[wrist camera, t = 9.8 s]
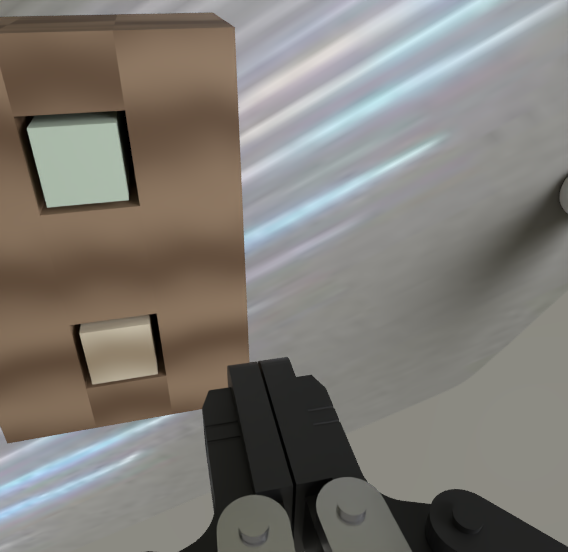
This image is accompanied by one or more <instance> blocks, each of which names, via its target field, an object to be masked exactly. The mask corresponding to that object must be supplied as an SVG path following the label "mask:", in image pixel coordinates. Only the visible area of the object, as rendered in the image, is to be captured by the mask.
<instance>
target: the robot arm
mask: <svg viewBox="0 0 568 552" xmlns="http://www.w3.org/2000/svg"><path fill="white" fill-rule="evenodd" d="M227 379H228V388H221V389H214V390H209V391H208V394H207V396H206V399H205V402H204V404H203V407H202V412H203V423H204V435H205V446H206V455H207V463H208V470H209V478H210V485H211V493H212V500H213V508H214V517H213V520H212V522H211V524H210V526H209V527H208V529H207V530H206V532H205V533H204V534H203V535H202V536H201V537H200V538H199V539H198V540H197V541H196V542H194V543H193V544H191V545H190V546H188V547H186V548H185V549H183V550H181V551H179V552H568V547H567V546H565V545H564V544H562V543H560V542H558V541H557V540H555V539H553V538H552V537H550V536H548V535H546V534H544V533H543V532H541V531H539V530H538V529H536V528H534V527H533V526H531V525H529V524H527V523H526V522H524V521H522V520H520V519H519V518H517V517H515V516H513V515H512V514H510V513H508V512H506V511H505V510H503V509H501V508H500V507H498V506H496V505H494V504H493V503H491V502H489V501H487V500H486V499H484V498H482V497H481V496H479V495H477V494H475V493H472V492H469V491H465V490H460V489H452V490H447V491H444V492H442V493H440V494H439V495H437V496H436V497H435V498H434V500H433V501H432V504H425V503H417V502H407V501H400V500H396V499H392V498H389V497H387V496H385V495H383V494H381V493H380V492H379V491H378V490H377V489H376V488H375V487H374V486H372V485H371V484H369V483H368V482H367V480H366V479H365V478H364V476H363V474H362V472H361V470H360V467H359V465H358V463H357V461H356V458H355V456H354V453H353V451H352V449H351V446H350V444H349V442H348V439H347V437H346V435H345V432H344V430H343V428H342V425H341V423H340V422H339V418H338V416H337V413H336V411H335V409H334V408H333V404H332V402H331V399H330V397H329V395H328V392H327V390H326V388H325V387H324V386H323V385H322V384H321V383H320V382H318V381H317V380H316V379H315V378H314V377H313V376H312V375H307V376H301V377H296V376H295V373H294V371H293V368H292V365H291V362H290V360H289V358H288V357H284V358H277V359H270V360H263V361H258V363H257V362H249V363H242V364H235V365H228V366H227ZM148 552H149V551H148Z"/></svg>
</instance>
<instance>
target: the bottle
mask: <svg viewBox="0 0 568 552" xmlns="http://www.w3.org/2000/svg"><path fill="white" fill-rule="evenodd" d="M559 200H560V203H561V206H562V208H563V209H564V211H565V212H567V213H568V177H567V178H566V179H565V181H564V183H563V185H562V187H561V190H560V198H559Z"/></svg>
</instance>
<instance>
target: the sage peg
mask: <svg viewBox="0 0 568 552" xmlns="http://www.w3.org/2000/svg"><path fill="white" fill-rule="evenodd" d="M27 131H28V135H29V139H30V143H31V147H32V151H33V155H34V158H35V162H36V166H37V170H38V174H39V178H40V182H41V186H42V190H43V193H44V197H45V201H46V205H47V208H48V207H59V206H70V205H81V204H92V203H103V202H114V201H125V200H129V161H130V153H129V147H128V140H127V134H126V128H125V121H124V115H123V110H122V111H105V112H87V113H69V114H52V115H35V116H34V118H33V119H32V121H31V122H30V124H29V126H28V127H27Z"/></svg>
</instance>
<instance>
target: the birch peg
mask: <svg viewBox="0 0 568 552" xmlns="http://www.w3.org/2000/svg"><path fill="white" fill-rule="evenodd" d="M80 338H81V342H82V346H83V349H84V353H85V357H86V361H87V365H88V369H89V373H90V377H91V381H92V384H99V383H106V382H112V381H118V380H124V379H131V378H137V377H143V376H149V375H155V374H158V369H157V353H156V336H155V319H154V314H148V315H141V316H134V317H126V318H119V319H112V320H105V321H97V322H90V323H83V324H81V327H80Z"/></svg>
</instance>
